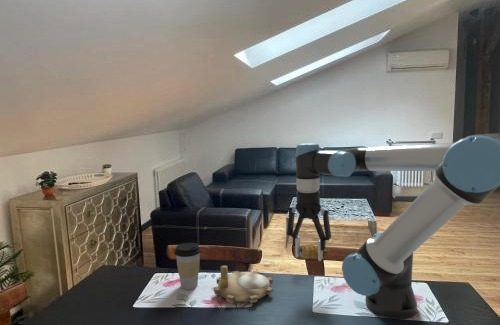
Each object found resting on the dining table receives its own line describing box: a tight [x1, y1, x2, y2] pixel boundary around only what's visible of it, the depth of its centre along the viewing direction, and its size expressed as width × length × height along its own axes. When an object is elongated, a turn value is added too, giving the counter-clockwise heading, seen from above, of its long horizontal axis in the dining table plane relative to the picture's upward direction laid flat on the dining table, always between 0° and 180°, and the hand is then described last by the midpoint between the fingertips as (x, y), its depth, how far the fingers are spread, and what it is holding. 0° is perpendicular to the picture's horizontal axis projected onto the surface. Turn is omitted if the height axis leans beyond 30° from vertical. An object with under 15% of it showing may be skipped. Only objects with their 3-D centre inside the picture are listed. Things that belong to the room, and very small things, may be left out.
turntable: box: [213, 265, 274, 304], centre depth 122 cm, size 21×21×9 cm
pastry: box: [299, 243, 329, 260], centre depth 120 cm, size 9×7×4 cm
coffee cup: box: [173, 242, 202, 291], centre depth 126 cm, size 9×9×15 cm
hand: (309, 257), depth 117 cm, fingers closed on pastry, 7 cm apart
